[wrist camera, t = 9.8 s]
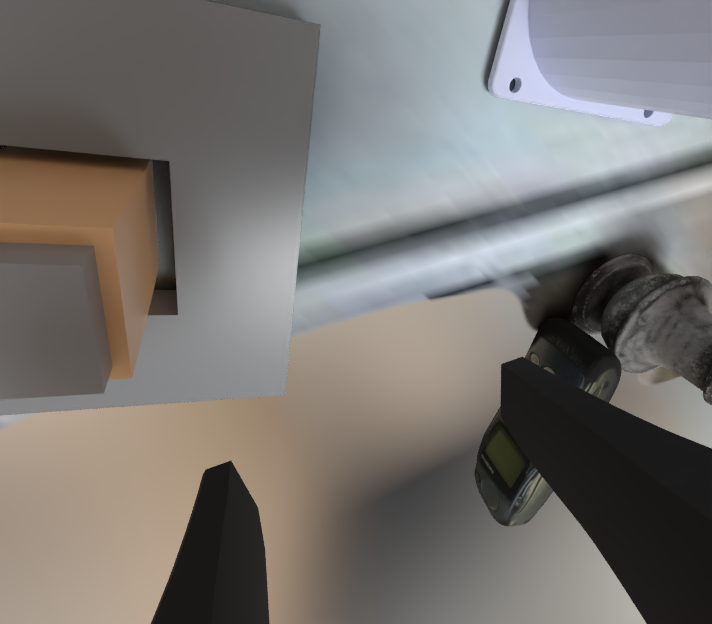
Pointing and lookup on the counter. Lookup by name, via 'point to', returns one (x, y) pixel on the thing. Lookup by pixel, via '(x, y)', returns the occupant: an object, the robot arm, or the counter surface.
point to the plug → (73, 269)
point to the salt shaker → (650, 318)
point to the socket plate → (181, 170)
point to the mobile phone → (498, 447)
